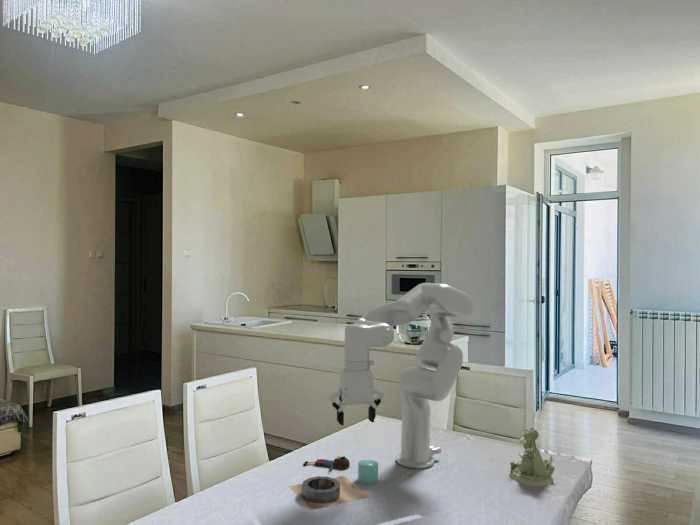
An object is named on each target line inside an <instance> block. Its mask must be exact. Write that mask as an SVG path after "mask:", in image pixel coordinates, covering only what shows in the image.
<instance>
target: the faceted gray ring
mask: <svg viewBox="0 0 700 525" xmlns="http://www.w3.org/2000/svg"><path fill="white" fill-rule="evenodd" d="M301 484H302V497H303V498H304V499H305V500H306V501H309V502H312V503H324V504H325V503H329V502H334V501H335V500H337V499H338V498H340V482H339V481H338V480H336V479H334V477H330V476H320V475H319V476H313V477H308V478H307V479H305V480H303V481H302V483H301ZM316 489H326V490H316Z"/></svg>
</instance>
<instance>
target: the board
mask: <svg viewBox="0 0 700 525" xmlns="http://www.w3.org/2000/svg"><path fill="white" fill-rule="evenodd" d="M333 478H334V479H336V480H338V481H339V482H340V498H338V499H337V500H335V501H334V502H329V503H325V504H324V503H312V502H309V501H306V500H305V499H304V498H303V497H302V484H303V483H299V484H294V485H289V488H290V489H291V490H292V491H293V492H294V493H295V494H296V495H297V497H298V498H300V500H301V501H303V502H304V504H305V505H306V506H307V507H308V508H309V509H311V511H312V510H313V511H314V510H318V509H323V508H326V507H330V506H335V505H339V504H344V503H348V502H349V503H350V502H353V501H357V500H361V499H366V498H371V495H369V494H368V493H367V492H366V491H364V490H363V489H362V488H361V487H360V486H359V485H357V484H355V483H354V482H353V481H351V480H350V479H349V478H348V477H347V476H345V475H340V476H337V477H336V476H335V477H333ZM316 490H326V489H316Z"/></svg>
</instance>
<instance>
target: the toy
mask: <svg viewBox="0 0 700 525" xmlns="http://www.w3.org/2000/svg"><path fill="white" fill-rule="evenodd" d="M349 460H350V459H348V458H347V457H346V456H344V455H343V456H337V457H335V458H334V460H331V459H330V460H329V459H324V458H323V459H322V458H321V459H319V458H318V459H316V460H312V461H308V460H306V461H304V463H303V464H302V467H309V466H315V467H323V468H328V472H327V473H328V475H330V474H331V472H332V471H333V470H334V469H338V470H347V469H350V466H351V465H350V461H349Z"/></svg>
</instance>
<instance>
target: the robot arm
mask: <svg viewBox="0 0 700 525" xmlns="http://www.w3.org/2000/svg"><path fill="white" fill-rule="evenodd" d="M474 305H475V304H474V301H473V298H472V297H471V296H470V295H469V294H468V293H466V292H464V291H462V290H459V289H458V288H456V287H453V286H451V285H448V284H446V283H434V282H422V283H418V284H417V285H416V286H414V287H413V288H412V289H410V290H409V291H408V292H406V293H405V294H404V295H402V296H401V297H400V298H398V299H397V300H395V301H392V302H389V303H386V304H384V305H381V306H379V307H376V308H373V309H371V310H369V311H368V312H366V313H365V314H363V315H362V316H361V317H359V318H358V319H357V320H355V322H354V323H350V324H347V325H346V326H345V327H344V354H343V355H344V366H343V369H341V371H340V376H339V382H338V383H339V384H338V390H336V391H335V392H334V393H332V394H330V395H328V400H329V402H330V404H331V406H332V407H334V409H335V410H336V422H338V424H339V426H344V423H345V414H344V413H345V412H344V411H343V410H344V409H345V408H346V406H354V405H365V404H368V405H369V406H368V412H367V415H368V421H369V422H371V423H375V419H376V413H377V412H376V410H377V408H378V406H379V405H380V404H381V402H382V400H383V397H384V396H385V394H384V392H382V391H380V390H378V389H376V388H375V387H374V379H373V378H374V377H373V372H372V369H371V366H374V365H375V364H374V360H371V359H370V349H371V348H386V347H388V346H390V344H392V342H393V341H394V338H395V331H394V329H393V328H392V327H398V326H403V325H404V326H405V325H407V324H411V323H413V322H414V321H415V320H416V319H417V318H419V317H420V316H421V315H422V314H424V313H425V312H426V311H428V313H429V317H430V327H429V329H428V331H427V332H426V334H425V338H424V339H423V341H422V343H421V345H420V347H419V349H418V351H417V355H416V360H417V362H418V364H419V365H420V366H421V367H420V366H414V365H413V366H409V367H406V368H404V369H403V370H401V373H400V375H399V379H398V380H399V390H400V394H401V437H400V438H401V440H400V441H401V442H400V453H399V454H397V455H396V459H395V460H396V462H397V464H398V465H400V466H402V467H405V468H410V469H427V468H431V467H432V466H433V465H434V464H435V458H434V457H433V456H434V455H436V454H441V453H442V448H441V447H440V446H439V447H435V448H434V446H433V445H432V446H431V415H432V414H431V405H430V401H433V402H443V400H445V399H447V397H448V395H449V394H450V392H451V390H452V388H453V385H454V384H455V382H456V379H457V377H458V376H459V373H460V371H461V368H462V366H463V361H464V355H463V351H462V349H461V347H460V346H459V345H456V343H452V340H453V337H454V328H453V325H452V323H451V319H450V318H456V319H457V318H458V319H466V318H468V317H470V316H471V314H473V312H474V307H475V306H474ZM375 395H377V397H376V398H375ZM337 398H338V401H339V402H338V403H336V401H335V400H336V399H337Z"/></svg>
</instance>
